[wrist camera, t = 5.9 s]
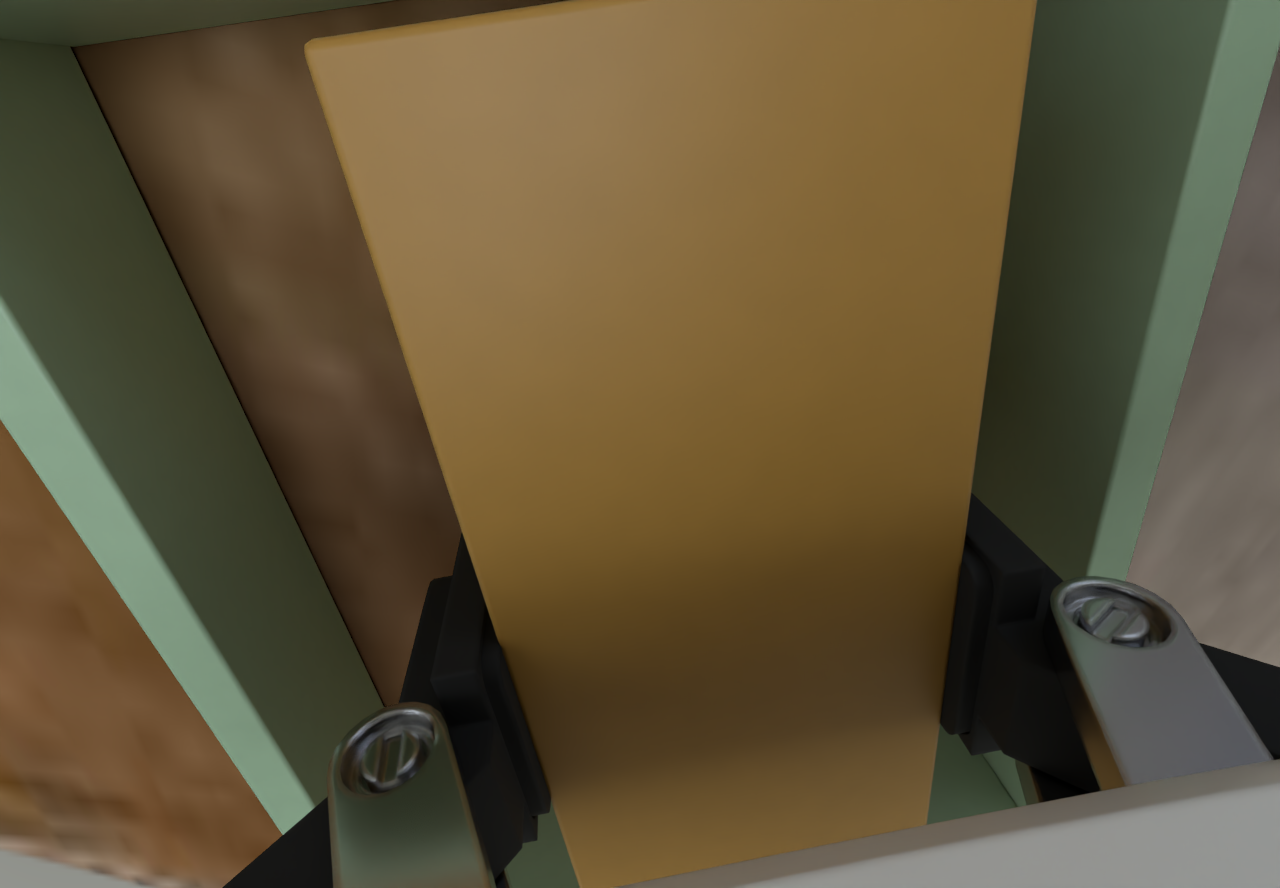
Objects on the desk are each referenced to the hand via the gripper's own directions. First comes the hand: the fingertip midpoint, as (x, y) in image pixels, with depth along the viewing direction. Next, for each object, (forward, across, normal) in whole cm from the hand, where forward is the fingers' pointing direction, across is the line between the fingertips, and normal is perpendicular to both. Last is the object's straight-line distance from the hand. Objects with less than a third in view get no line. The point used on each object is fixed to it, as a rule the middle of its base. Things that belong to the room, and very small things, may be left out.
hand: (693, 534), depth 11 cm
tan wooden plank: (+1, 0, 0) cm, 1 cm away
